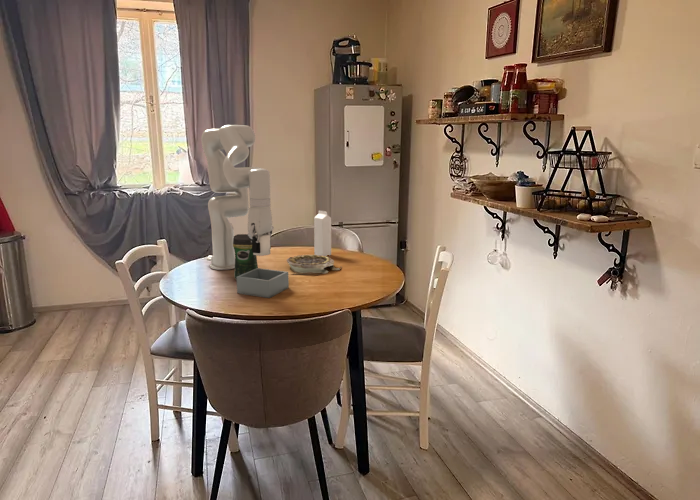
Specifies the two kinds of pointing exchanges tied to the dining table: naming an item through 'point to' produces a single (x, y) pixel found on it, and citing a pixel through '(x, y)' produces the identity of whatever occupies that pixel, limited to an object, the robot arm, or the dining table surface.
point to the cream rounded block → (264, 245)
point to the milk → (322, 234)
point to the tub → (262, 282)
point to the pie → (311, 264)
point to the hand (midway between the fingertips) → (261, 250)
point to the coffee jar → (243, 255)
